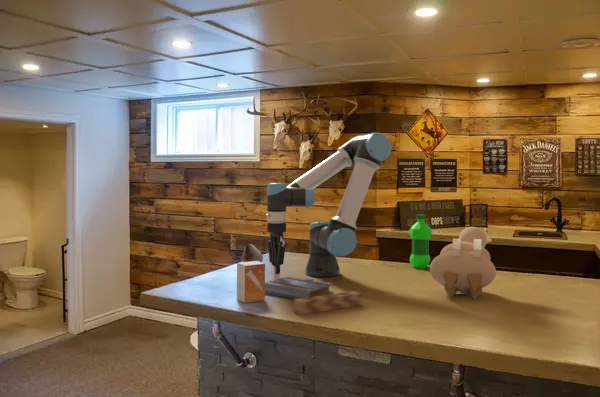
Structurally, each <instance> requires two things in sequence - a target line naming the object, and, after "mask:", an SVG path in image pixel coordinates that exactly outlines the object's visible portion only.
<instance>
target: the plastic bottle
mask: <svg viewBox="0 0 600 397" xmlns="http://www.w3.org/2000/svg"><path fill="white" fill-rule="evenodd" d="M415 219H416V222H415V223H414V224H413V225H412V226H410V228H409V230H408V231H409V232H408V234H409V235H408V236H409V237H410V238H411V254H410V257H409V263H410V264H411V265H412V266H413V267H414V268H416V269H425V268H426V267H428V266H429V264H431V263H430V262H431V256H430V254H429V252H430V250H429V249H430V248H429V245H430V242H429V240H430V239H431V238H432V228H431V227H430V226H429V225H428V223H426V222H425V220H426V215H425V214H416V216H415Z"/></svg>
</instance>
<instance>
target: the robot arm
mask: <svg viewBox="0 0 600 397" xmlns="http://www.w3.org/2000/svg"><path fill="white" fill-rule="evenodd" d="M391 152H392V144H391V142H390V139H389V137H387V135H385V134H384V133H381V132H370V133H365V134H359V135H355V136H354V137H353V138H351V139H349V140H348V141H347V142H345V143H344V144H342V145H341V146H340V147H338V148H337V150H336V152H335V153H333V154H332V155H330V156H329V157H327V158H325V160H323V161H322V162H320V163H319V164H317V165H316V166H315V167H313V168H312V169H310V170H308V171H307V172H306V173H304V174H303V175H301V176H300V177H298V178H296V179H295V180H294V181H292V182H291V183H290V184H288V185H287V184H286V183H285V182H270V183H268V184H267V190H266V208H267V209H266V221H267V223H266V232H267V233H269V237H267V238H266V242H267V249H268V258H269V263H271V265H272V267H271V268H272V270H271V271H272V272H271V273H272V274H271V276H272V277H271V278H272V279H271V281H273V280H276V279H280V278H281V266H282V265H284V261H285V254H286V246H287V244H288V243H287V241H285V240H284V235H283V234H284V233H285V232H286V231H287V223H286V221H287V207H288V208H290V207H295V208H296V207H299V208H300V207H305V208H307V207H312V206H314V204H315V202H316V192H315V190H314V189H316V188H317V187H319V186H320V185H321V184H323V183H325V182H326V181H327V180H328V179H330V178H331V177H333V176H334V175H336V174H337V173H338V172H340V171H342V170H343V169H345V168H346V167H349V168H350V167H352V165H354V167H353V170H352V171H351V175H350V178H349V180H348V183H347V184H346V188H345V191H344V193H343V196H342V199H341V201H340V204H339V206H338V208H337V212H336V214H335V216H333V217H331V218H330V220H329V221H316V222H315V221H314V222H311V223H310V225H309V230H308V231H309V256H308V260H307V262H306V263H307V264H306V266H305V273H304V274H306V275H307V276H311V277H318V278H326V277H327V278H329V277H331V278H332V277H337V276H339V275H340V274H341V273H340V272H341V268H340V265H339V262H338V260H337V256H339V257H346V256H348V255H349V254H351V253H352V252H353V251H354V250H355V249H356V246H357V243H358V242H357V241H358V239H357V235H356V231H357V230H358V229H357V228H358V227H357V226H356V222H357V218H358V216H359V214H360V211H361V208H362V205H363V203H364V200H365V197H366V195H367V192H368V190H369V187H370V184H371V183H372V182H371V181H372V179H373V176H374V173H375V172H376V171H378V170H379V169H380V168H381V165H382V163H383V161H385V160H387V158H389V156H390V155H391Z"/></svg>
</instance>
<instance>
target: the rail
mask: <svg viewBox="0 0 600 397" xmlns="http://www.w3.org/2000/svg"><path fill="white" fill-rule="evenodd" d="M362 298H363V293H361V292H359V291H356V290H352V291H344V292H338V293H334V294H329V295H322V296H315V297H308V298H300V299H293V313H295V314H297V315H299V316H301V315H308V314H314V313H321V312H322V313H323V312H326V311H327V312H328V311H333V310H339V309H346V308H353V307H358V306H362V305H363V303H362V302H363V299H362Z"/></svg>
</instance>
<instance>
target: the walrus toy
mask: <svg viewBox="0 0 600 397" xmlns="http://www.w3.org/2000/svg"><path fill="white" fill-rule="evenodd" d="M487 233H488V230H487V229H486V227H484V231H483V230H482V229H481V228H479V227H477V226H476V227H475V226H468V227H465V228H464V229H463V230H461V232H460V233H459V236H458V238H453V239H452V243H449V244H447V245H445V246H444V247H443V248H442V250H441V251H440V254H439V255H437V256H435V257H434V258H433V260H432V261H430V262H431V263H430V266H429V273H430V275H431V276H432V278H433V279H434V280H435V282H437V283H439V284H440V285H442V286H444V287H443V288H444V291H445V292H446V294H447V295H448V297H449V298H450V299H452V298H453V297H454V296H455V295H456V293H458V292H459V291H463V292H465V291H466V292H468V293H469V294H470V296H471V298H472V299H473V301H476V299H477V298H478V297H479V296H480V295H481V294H482V293H483V288H486V287H488V286H489V285H490V284H491V283H492V282H493V281H494V280H495V278H496V275H497V270H496V266H495V265H494V262H492V261H491V254H490V252H489V251H488V250H487V249H486V248H485V247H486V245H487V243H491V242H492V240H493V239H492V238H491V237H489V236H487Z"/></svg>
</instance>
